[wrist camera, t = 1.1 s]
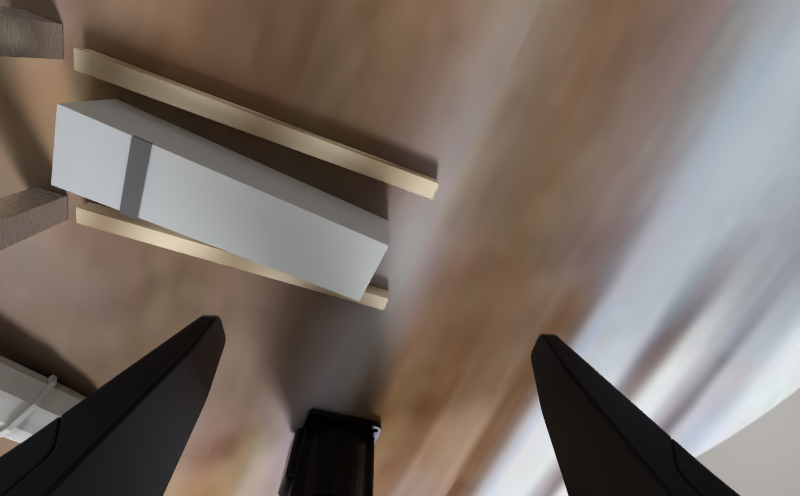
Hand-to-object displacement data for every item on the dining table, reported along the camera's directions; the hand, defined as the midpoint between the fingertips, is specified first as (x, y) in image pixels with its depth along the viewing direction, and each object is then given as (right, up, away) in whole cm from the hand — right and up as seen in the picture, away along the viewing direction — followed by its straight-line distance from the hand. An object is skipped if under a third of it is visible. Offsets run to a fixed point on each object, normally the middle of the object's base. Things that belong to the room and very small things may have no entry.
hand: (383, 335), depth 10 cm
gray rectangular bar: (-8, +6, +11) cm, 15 cm away
